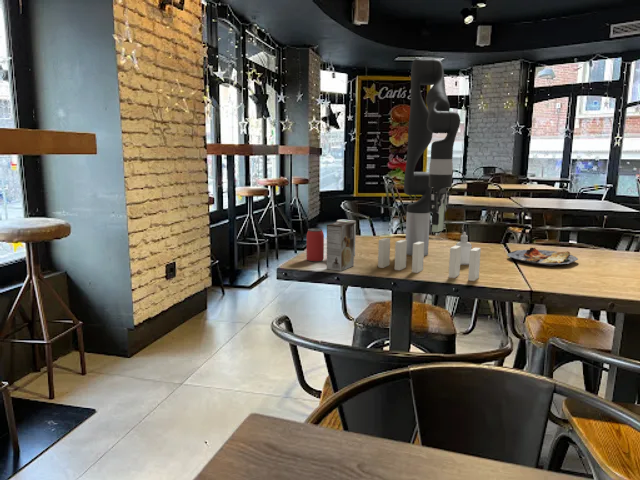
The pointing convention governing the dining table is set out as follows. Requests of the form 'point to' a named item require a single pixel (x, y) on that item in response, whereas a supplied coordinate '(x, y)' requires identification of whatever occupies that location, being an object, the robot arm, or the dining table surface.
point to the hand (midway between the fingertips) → (438, 223)
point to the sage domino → (441, 219)
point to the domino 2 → (400, 254)
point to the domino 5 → (474, 264)
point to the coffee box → (340, 245)
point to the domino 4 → (454, 261)
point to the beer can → (315, 245)
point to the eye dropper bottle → (464, 249)
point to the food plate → (543, 257)
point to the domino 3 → (418, 257)
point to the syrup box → (354, 228)
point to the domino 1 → (384, 252)
